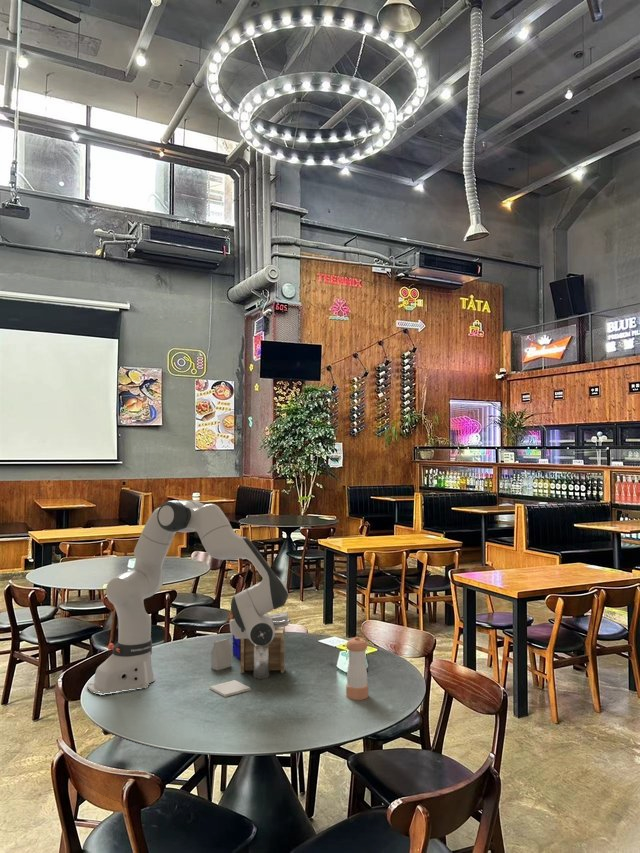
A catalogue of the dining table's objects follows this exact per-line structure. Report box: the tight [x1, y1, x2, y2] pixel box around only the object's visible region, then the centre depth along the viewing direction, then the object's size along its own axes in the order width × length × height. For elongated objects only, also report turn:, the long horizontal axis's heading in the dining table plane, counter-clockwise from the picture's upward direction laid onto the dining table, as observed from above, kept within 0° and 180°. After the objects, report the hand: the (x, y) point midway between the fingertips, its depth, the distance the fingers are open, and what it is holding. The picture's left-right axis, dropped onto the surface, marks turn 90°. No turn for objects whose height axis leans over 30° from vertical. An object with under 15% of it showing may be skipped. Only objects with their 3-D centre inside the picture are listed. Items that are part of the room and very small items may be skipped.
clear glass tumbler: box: [253, 644, 270, 680], centre depth 224 cm, size 6×6×11 cm
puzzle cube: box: [232, 635, 241, 661], centre depth 248 cm, size 10×10×10 cm
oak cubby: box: [240, 626, 286, 674], centre depth 225 cm, size 12×16×16 cm
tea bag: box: [210, 638, 232, 671], centre depth 234 cm, size 4×7×10 cm, turn 139°
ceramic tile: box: [209, 679, 251, 698], centre depth 210 cm, size 10×10×1 cm
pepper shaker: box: [345, 636, 369, 701], centre depth 204 cm, size 7×7×19 cm
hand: (258, 618), depth 217 cm, fingers open, 8 cm apart
